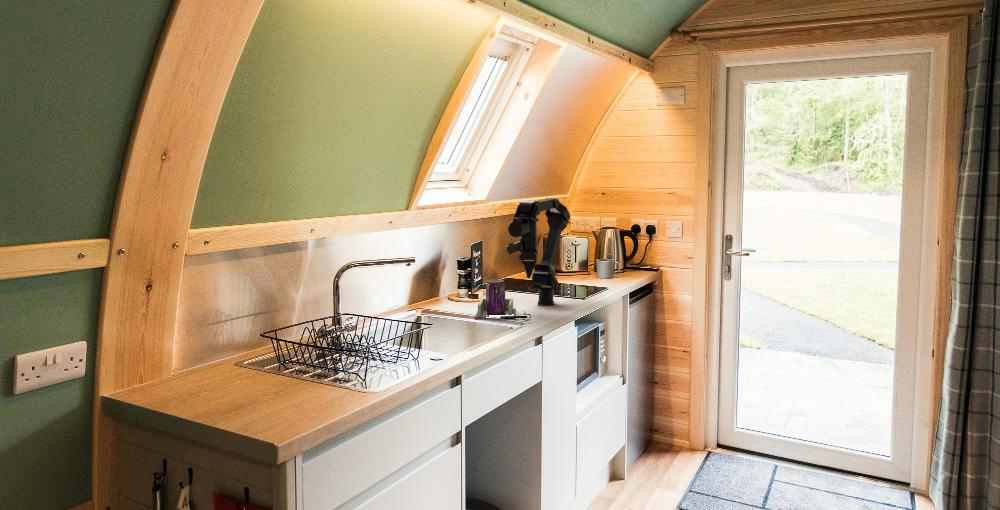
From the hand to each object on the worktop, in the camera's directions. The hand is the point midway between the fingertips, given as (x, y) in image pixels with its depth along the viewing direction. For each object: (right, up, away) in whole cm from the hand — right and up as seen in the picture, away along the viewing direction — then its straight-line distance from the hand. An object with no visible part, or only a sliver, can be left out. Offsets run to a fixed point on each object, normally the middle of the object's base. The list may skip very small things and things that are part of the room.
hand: (529, 276), depth 291 cm
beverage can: (-12, -14, -6) cm, 19 cm away
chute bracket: (-12, -14, -5) cm, 19 cm away
